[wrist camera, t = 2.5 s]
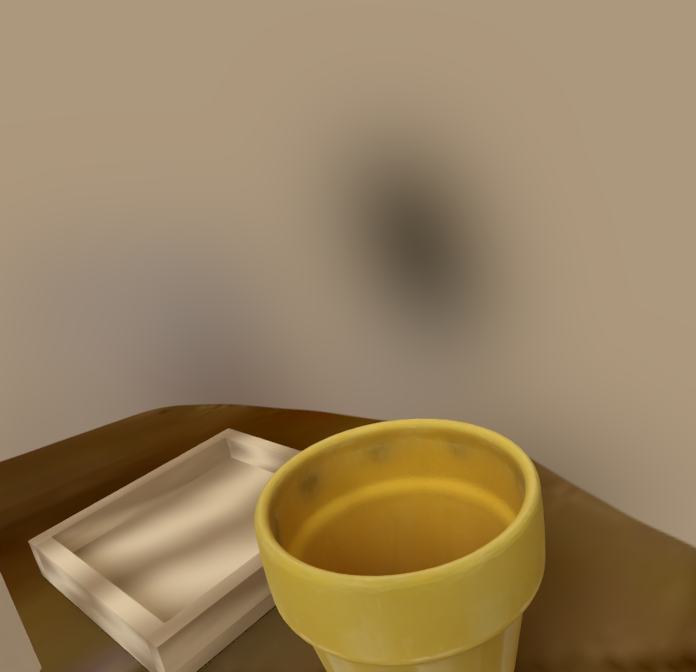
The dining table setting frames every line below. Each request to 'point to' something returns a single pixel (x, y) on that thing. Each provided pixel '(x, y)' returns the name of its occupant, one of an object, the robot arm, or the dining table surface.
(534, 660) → the dining table surface
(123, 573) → the birch tray
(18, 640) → the robot arm
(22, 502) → the dining table surface
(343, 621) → the plant pot
